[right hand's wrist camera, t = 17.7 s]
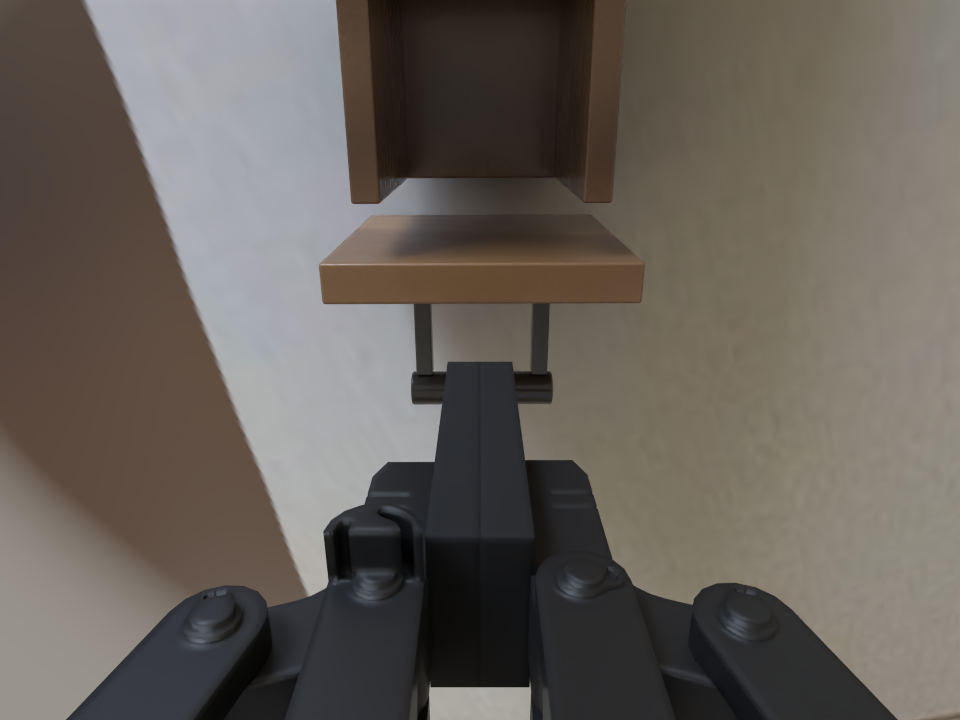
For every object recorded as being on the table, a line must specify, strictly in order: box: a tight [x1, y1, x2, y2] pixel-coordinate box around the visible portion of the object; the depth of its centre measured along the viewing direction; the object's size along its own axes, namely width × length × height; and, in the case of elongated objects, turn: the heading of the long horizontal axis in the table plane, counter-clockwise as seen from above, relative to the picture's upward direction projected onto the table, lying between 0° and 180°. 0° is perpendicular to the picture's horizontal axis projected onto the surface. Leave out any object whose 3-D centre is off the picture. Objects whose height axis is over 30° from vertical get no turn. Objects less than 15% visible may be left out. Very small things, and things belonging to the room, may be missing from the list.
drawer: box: [319, 0, 645, 404], centre depth 20 cm, size 23×9×9 cm, turn 0°
